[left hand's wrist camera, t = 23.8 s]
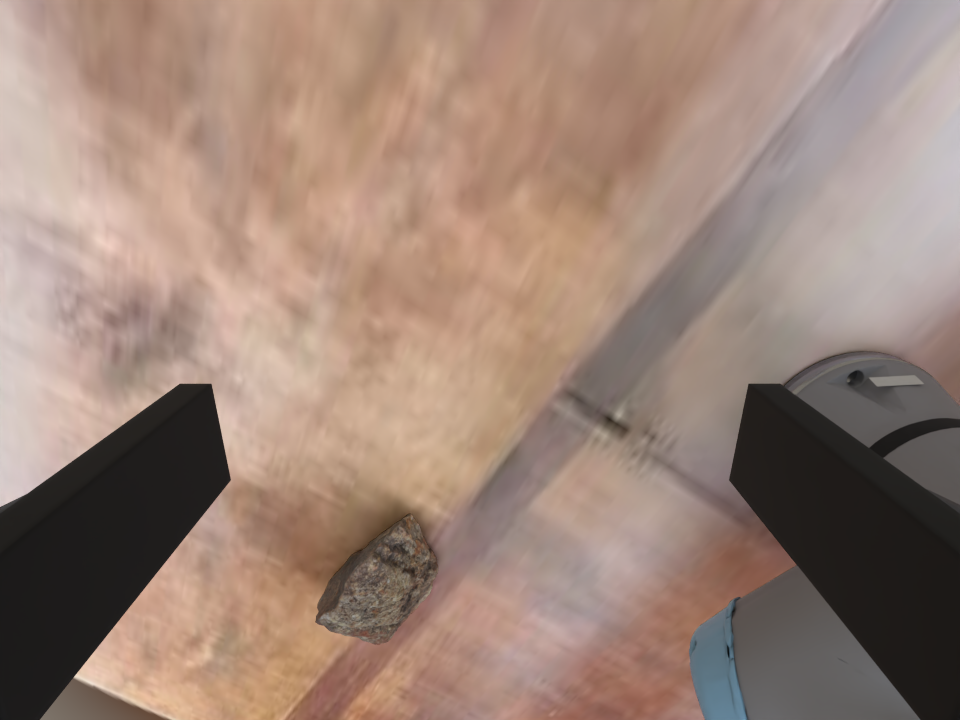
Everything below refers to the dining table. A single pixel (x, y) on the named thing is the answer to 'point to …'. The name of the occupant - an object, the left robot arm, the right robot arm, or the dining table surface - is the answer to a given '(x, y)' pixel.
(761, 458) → the left robot arm
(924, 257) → the dining table surface
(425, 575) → the rock
